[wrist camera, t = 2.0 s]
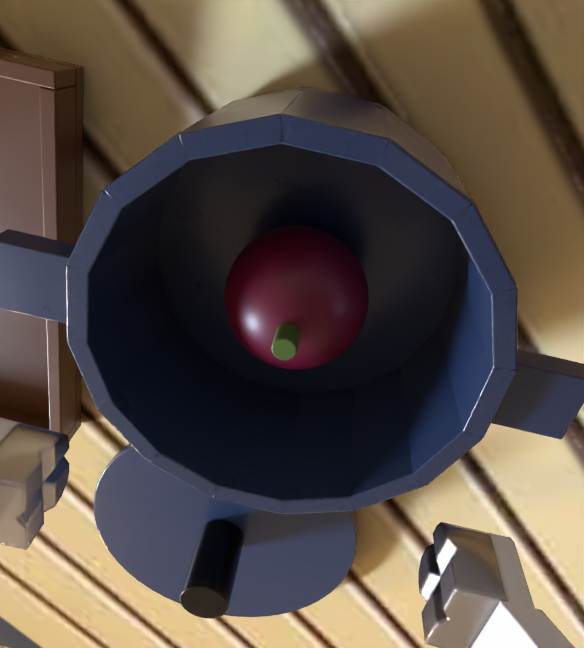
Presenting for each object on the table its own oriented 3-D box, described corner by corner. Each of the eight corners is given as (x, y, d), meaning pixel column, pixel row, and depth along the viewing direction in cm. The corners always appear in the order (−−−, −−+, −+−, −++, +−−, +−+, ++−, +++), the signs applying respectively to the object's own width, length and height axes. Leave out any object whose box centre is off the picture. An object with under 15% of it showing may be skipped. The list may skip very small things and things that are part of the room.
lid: (105, 387, 27) (54, 460, 22) (389, 454, 27) (394, 540, 22) (98, 569, 34) (59, 651, 29) (323, 621, 34) (317, 712, 29)
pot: (84, 32, 19) (-47, 36, 13) (604, 154, 19) (718, 216, 13) (81, 347, 26) (-6, 447, 20) (467, 437, 26) (500, 566, 20)
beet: (251, 193, 21) (211, 252, 15) (383, 224, 21) (391, 294, 15) (231, 310, 23) (191, 396, 18) (349, 338, 23) (346, 432, 18)
